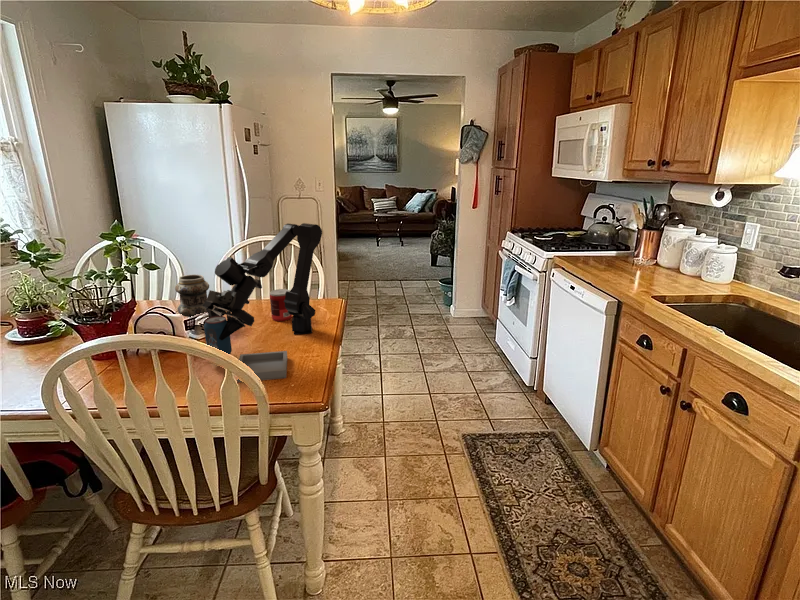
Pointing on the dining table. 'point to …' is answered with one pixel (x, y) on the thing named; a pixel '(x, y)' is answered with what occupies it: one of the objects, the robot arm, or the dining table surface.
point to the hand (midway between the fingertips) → (213, 337)
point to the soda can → (217, 333)
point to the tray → (267, 364)
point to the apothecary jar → (192, 294)
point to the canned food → (279, 305)
